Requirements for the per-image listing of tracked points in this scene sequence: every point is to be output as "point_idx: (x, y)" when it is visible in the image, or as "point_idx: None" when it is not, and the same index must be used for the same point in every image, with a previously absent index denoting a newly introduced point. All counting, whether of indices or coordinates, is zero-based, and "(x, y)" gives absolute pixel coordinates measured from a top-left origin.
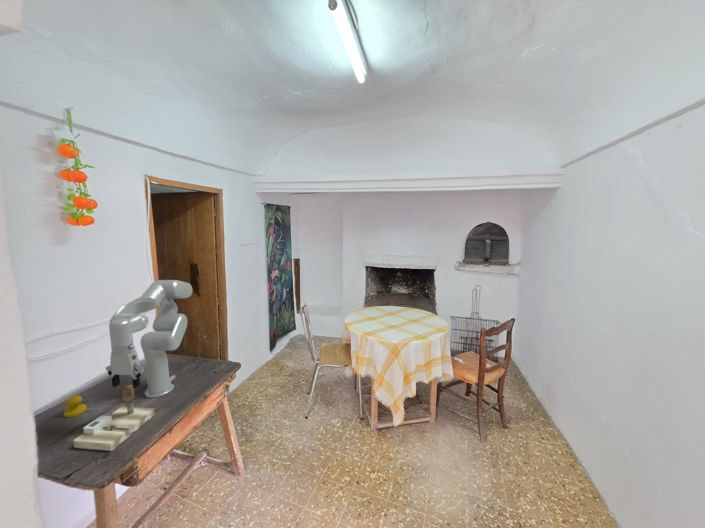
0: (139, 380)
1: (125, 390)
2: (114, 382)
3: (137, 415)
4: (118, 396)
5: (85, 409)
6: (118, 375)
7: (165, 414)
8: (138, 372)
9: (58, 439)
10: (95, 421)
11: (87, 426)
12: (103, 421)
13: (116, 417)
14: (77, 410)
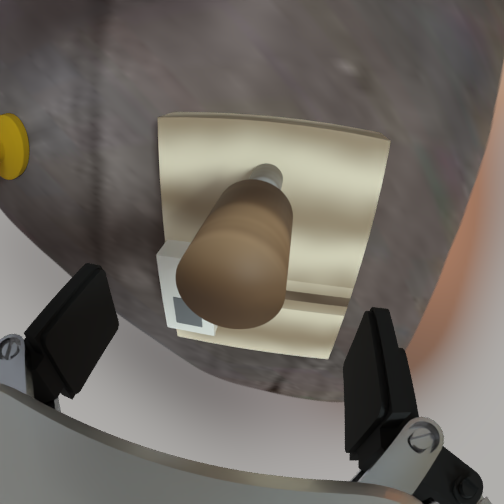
0: (409, 391)
1: (246, 325)
2: (96, 356)
3: (327, 203)
4: (56, 14)
5: (22, 133)
6: (36, 343)
7: (434, 137)
8: (410, 491)
9: None
10: (175, 297)
11: (175, 321)
12: None
13: None
14: (13, 157)
